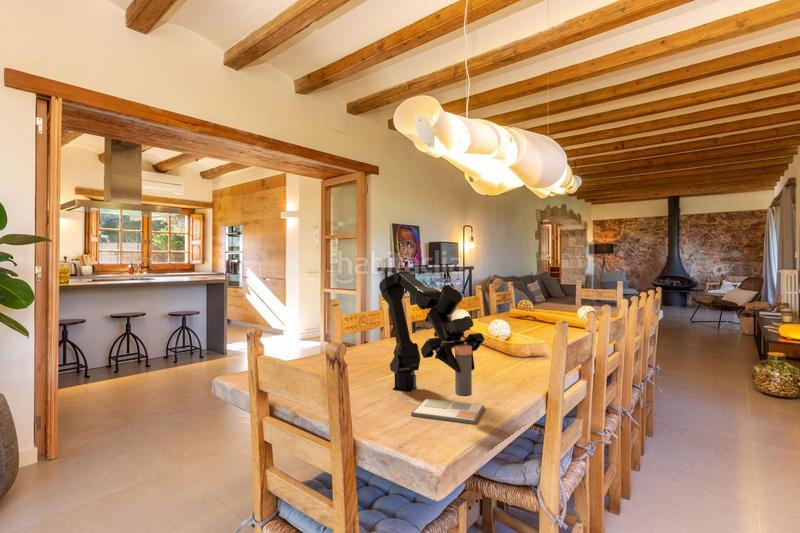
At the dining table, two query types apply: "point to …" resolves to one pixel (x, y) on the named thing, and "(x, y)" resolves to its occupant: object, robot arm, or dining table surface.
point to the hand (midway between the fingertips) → (466, 370)
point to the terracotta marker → (463, 370)
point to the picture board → (449, 411)
